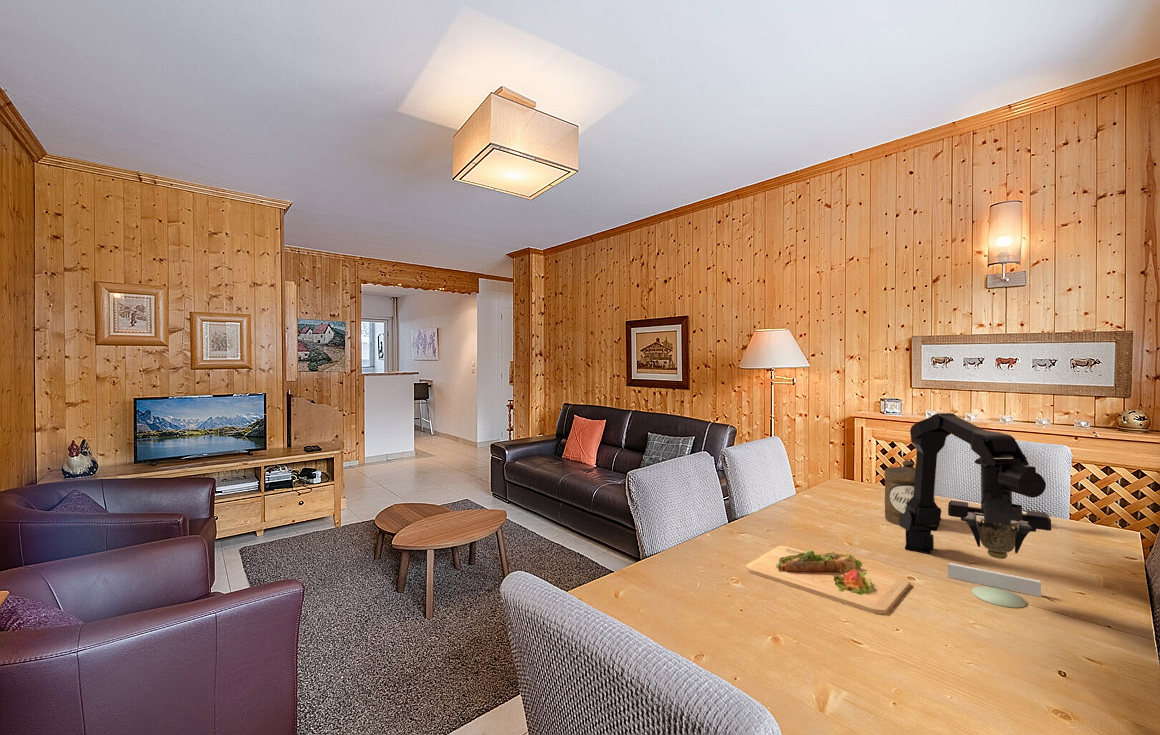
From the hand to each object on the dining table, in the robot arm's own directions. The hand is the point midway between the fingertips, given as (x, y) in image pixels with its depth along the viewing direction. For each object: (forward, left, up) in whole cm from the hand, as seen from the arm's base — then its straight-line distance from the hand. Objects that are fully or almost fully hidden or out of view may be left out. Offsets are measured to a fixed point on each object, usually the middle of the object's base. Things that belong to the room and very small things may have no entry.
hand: (997, 549), depth 117 cm
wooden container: (-23, +53, -12) cm, 59 cm away
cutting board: (-36, -13, -13) cm, 40 cm away
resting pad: (0, 0, -12) cm, 12 cm away
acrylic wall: (-1, +7, -12) cm, 14 cm away
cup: (0, 0, -2) cm, 2 cm away
